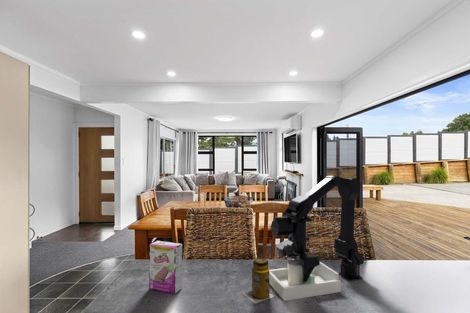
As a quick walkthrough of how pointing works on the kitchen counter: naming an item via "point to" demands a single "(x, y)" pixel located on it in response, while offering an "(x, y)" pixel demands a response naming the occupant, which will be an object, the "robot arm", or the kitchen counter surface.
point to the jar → (294, 271)
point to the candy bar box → (165, 267)
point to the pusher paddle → (310, 279)
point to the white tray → (323, 284)
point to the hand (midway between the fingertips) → (298, 276)
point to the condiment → (259, 281)
